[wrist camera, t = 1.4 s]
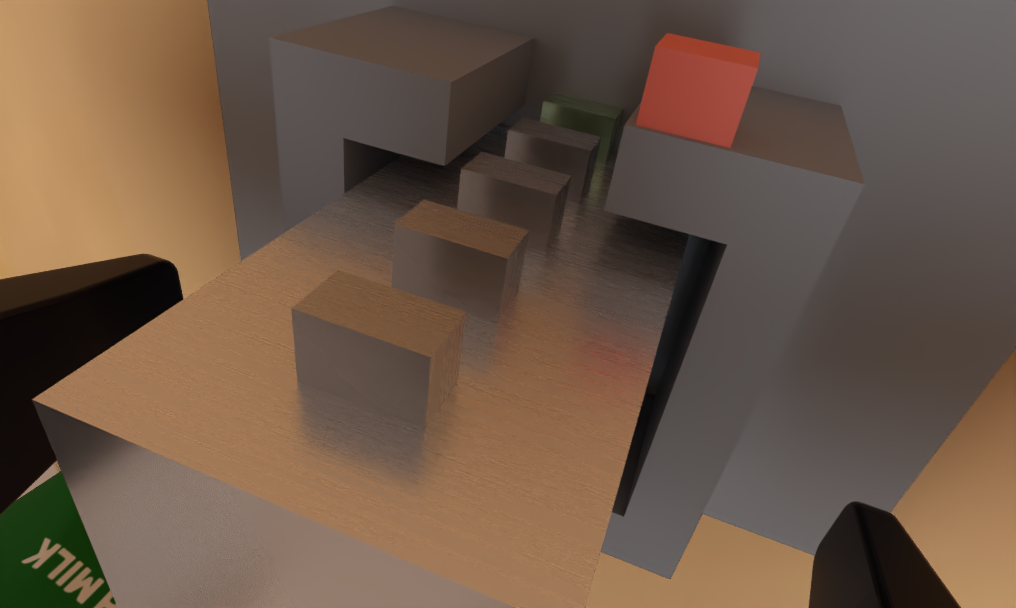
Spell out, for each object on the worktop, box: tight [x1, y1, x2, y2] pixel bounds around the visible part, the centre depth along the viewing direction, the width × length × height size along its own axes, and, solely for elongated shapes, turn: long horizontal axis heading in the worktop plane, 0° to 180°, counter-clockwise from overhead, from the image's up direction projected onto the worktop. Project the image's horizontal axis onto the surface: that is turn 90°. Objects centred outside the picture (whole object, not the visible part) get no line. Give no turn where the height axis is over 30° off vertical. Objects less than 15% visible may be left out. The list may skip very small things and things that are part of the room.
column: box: [32, 92, 689, 608], centre depth 8 cm, size 5×4×8 cm
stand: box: [207, 0, 1016, 579], centre depth 10 cm, size 10×14×4 cm
